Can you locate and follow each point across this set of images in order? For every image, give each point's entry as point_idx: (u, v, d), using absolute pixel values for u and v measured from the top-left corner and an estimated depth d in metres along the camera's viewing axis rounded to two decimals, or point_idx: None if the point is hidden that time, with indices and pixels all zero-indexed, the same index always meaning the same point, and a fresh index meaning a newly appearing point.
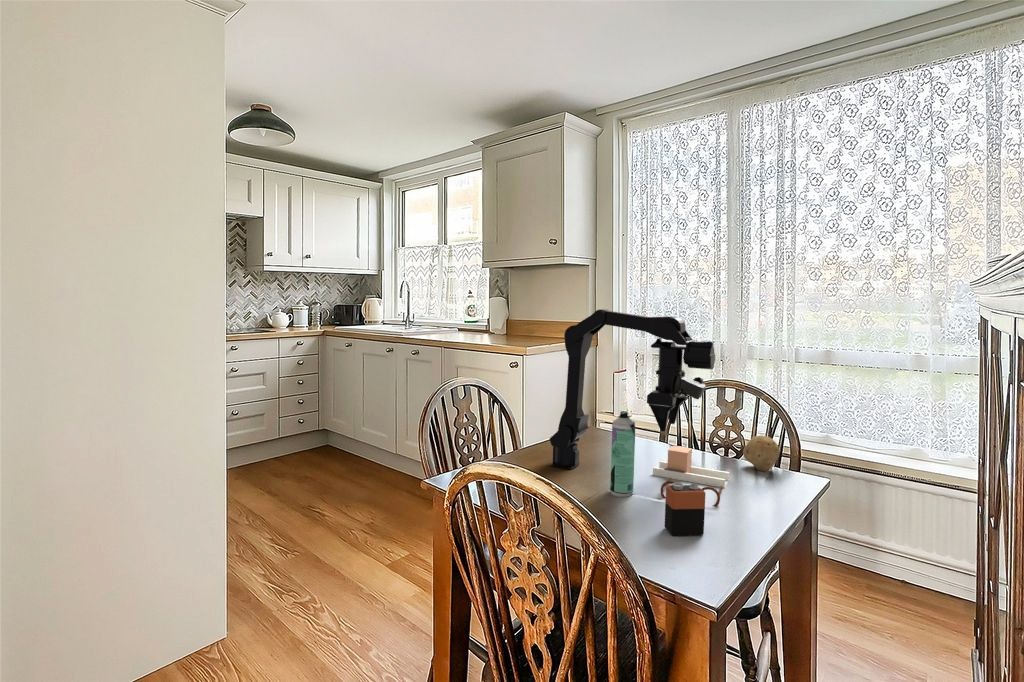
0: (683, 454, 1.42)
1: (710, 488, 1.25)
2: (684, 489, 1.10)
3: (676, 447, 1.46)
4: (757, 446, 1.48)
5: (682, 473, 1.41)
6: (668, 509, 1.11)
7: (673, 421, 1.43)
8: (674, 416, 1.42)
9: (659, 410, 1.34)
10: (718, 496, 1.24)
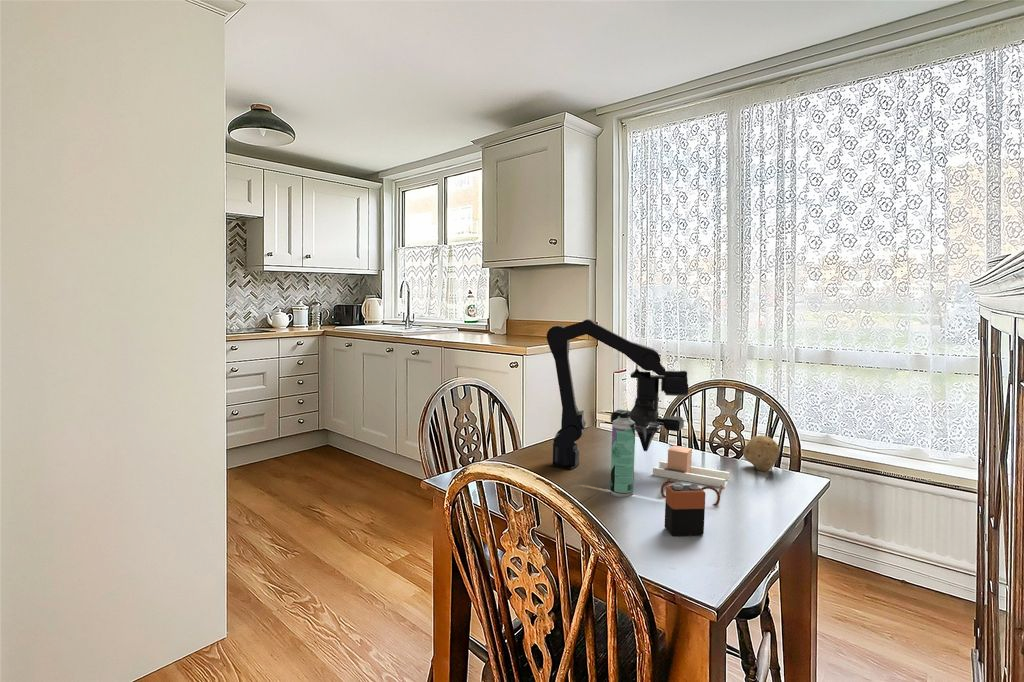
0: (683, 454, 1.42)
1: (710, 487, 1.25)
2: (683, 489, 1.10)
3: (676, 447, 1.46)
4: (757, 446, 1.48)
5: (682, 473, 1.41)
6: (668, 509, 1.11)
7: None
8: None
9: None
10: (718, 495, 1.24)
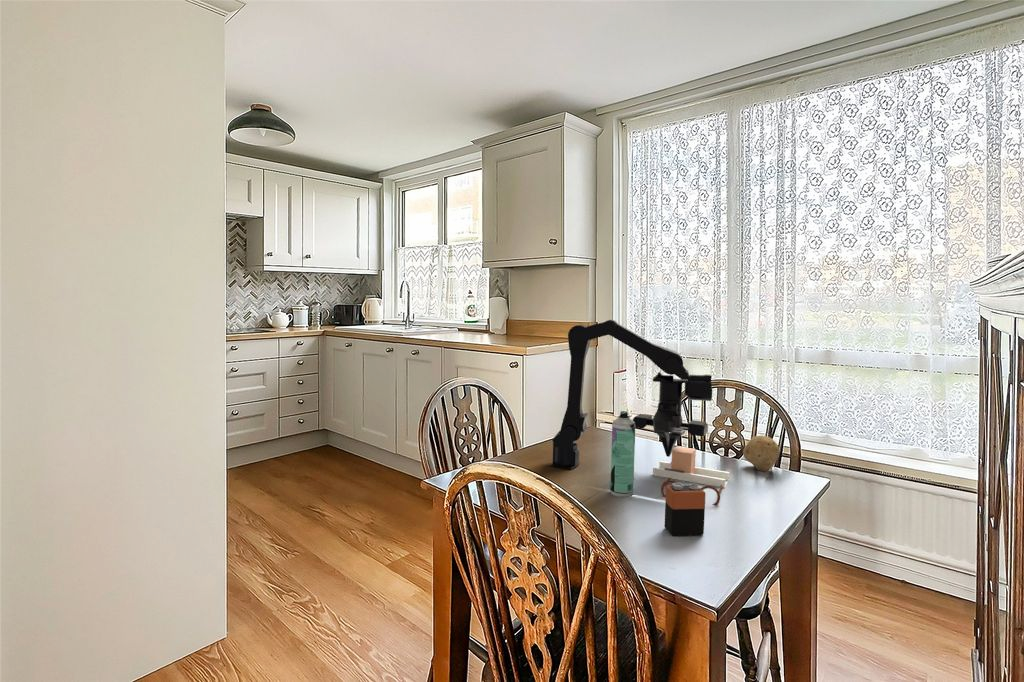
0: (687, 455, 1.41)
1: (710, 487, 1.25)
2: (683, 489, 1.10)
3: (680, 448, 1.46)
4: (757, 446, 1.48)
5: (682, 473, 1.41)
6: (668, 509, 1.11)
7: None
8: None
9: None
10: (718, 495, 1.25)
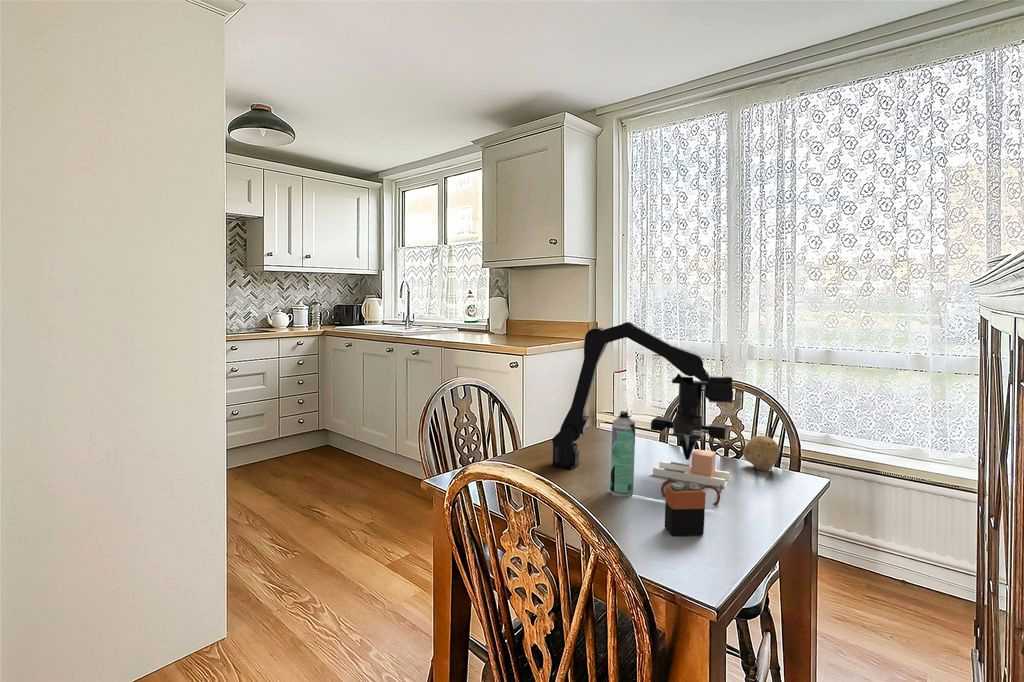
0: (707, 458, 1.39)
1: (710, 487, 1.26)
2: (683, 489, 1.10)
3: (700, 451, 1.43)
4: (757, 446, 1.48)
5: (682, 473, 1.41)
6: (668, 509, 1.11)
7: None
8: None
9: None
10: (718, 495, 1.25)
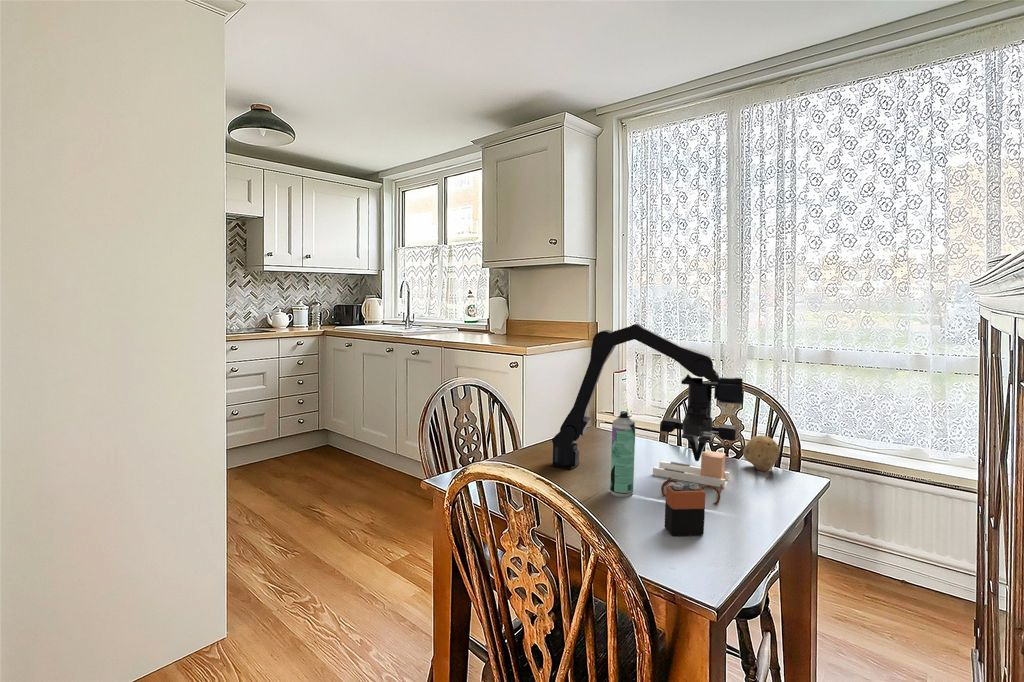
0: (717, 459, 1.38)
1: (710, 486, 1.26)
2: (683, 489, 1.10)
3: (709, 452, 1.42)
4: (757, 446, 1.48)
5: (682, 473, 1.41)
6: (668, 509, 1.11)
7: None
8: None
9: None
10: (718, 494, 1.25)
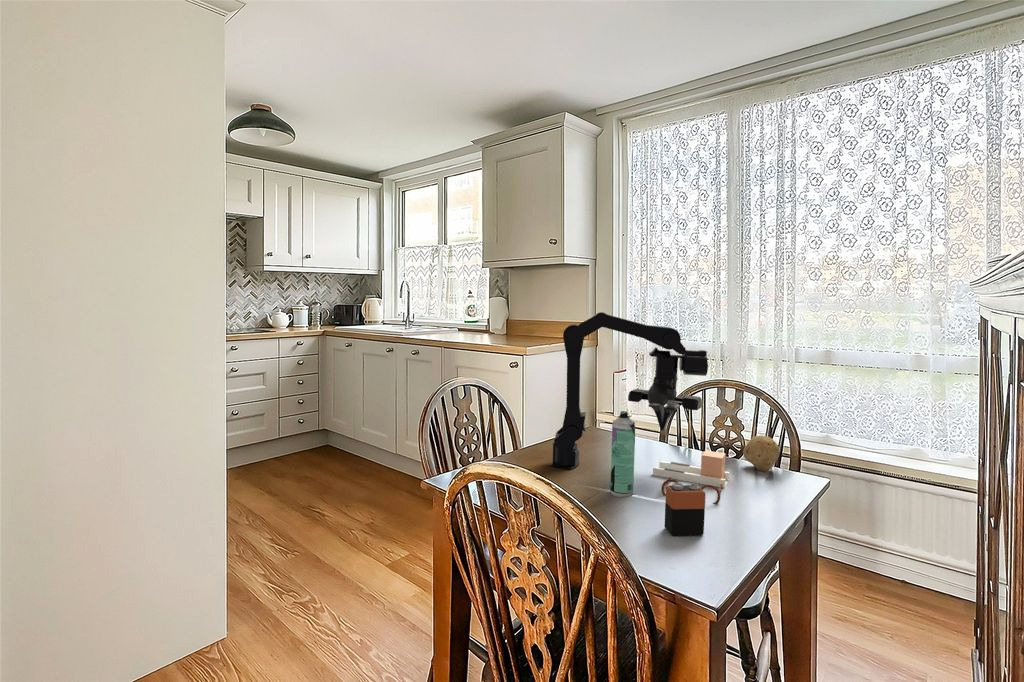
0: (717, 460, 1.38)
1: (710, 486, 1.26)
2: (684, 489, 1.10)
3: (709, 452, 1.42)
4: (757, 446, 1.48)
5: (682, 473, 1.41)
6: (668, 509, 1.11)
7: None
8: None
9: None
10: (718, 494, 1.25)
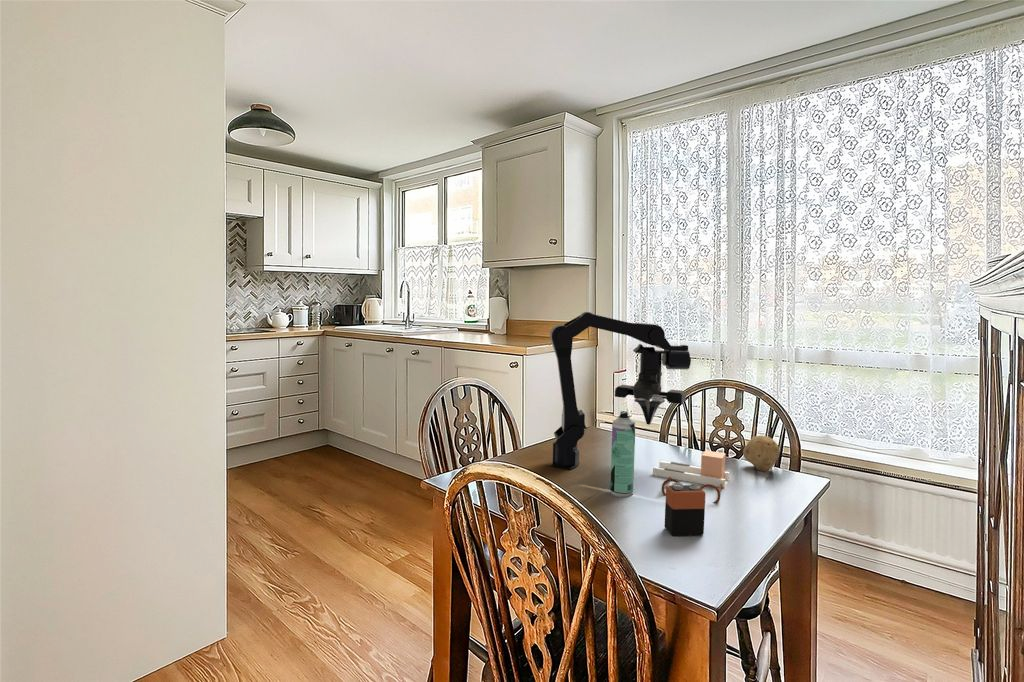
0: (717, 460, 1.38)
1: (710, 485, 1.27)
2: (683, 489, 1.10)
3: (709, 452, 1.42)
4: (757, 446, 1.48)
5: (682, 473, 1.41)
6: (668, 509, 1.11)
7: None
8: None
9: None
10: (718, 493, 1.26)
